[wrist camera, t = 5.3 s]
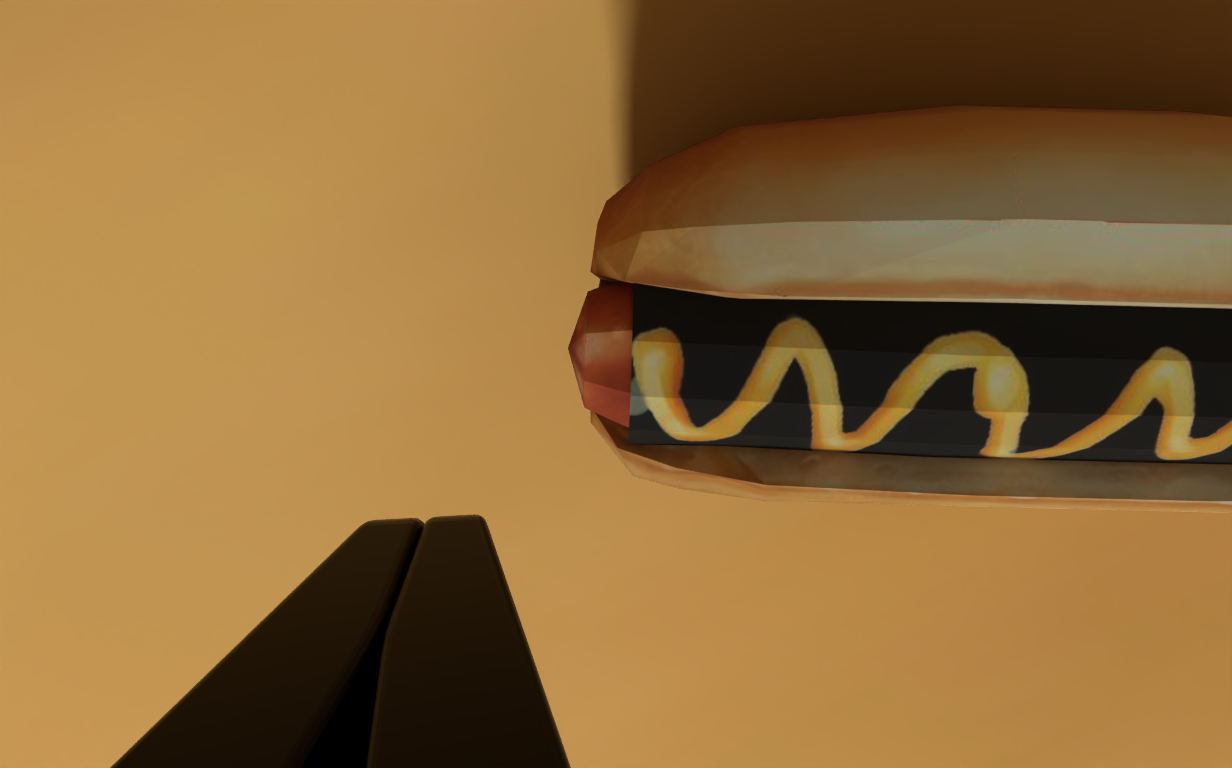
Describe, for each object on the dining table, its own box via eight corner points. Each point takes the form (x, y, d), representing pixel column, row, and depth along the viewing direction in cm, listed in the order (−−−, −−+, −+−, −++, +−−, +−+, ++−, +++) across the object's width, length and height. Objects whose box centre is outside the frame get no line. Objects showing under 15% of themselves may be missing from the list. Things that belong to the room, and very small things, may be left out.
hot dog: (579, 42, 17) (563, 181, 12) (1516, 67, 17) (1816, 214, 13) (576, 346, 19) (562, 545, 15) (1384, 366, 19) (1594, 570, 15)
